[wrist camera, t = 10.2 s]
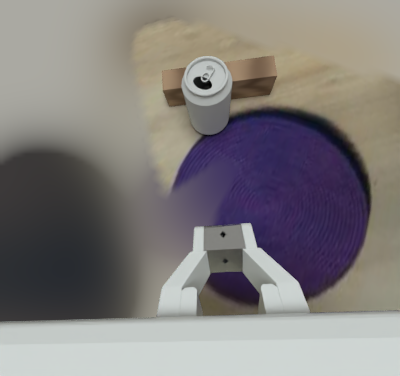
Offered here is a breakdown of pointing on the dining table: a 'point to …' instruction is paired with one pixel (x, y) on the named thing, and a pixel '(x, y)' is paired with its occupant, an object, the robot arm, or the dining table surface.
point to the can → (207, 94)
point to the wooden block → (241, 79)
